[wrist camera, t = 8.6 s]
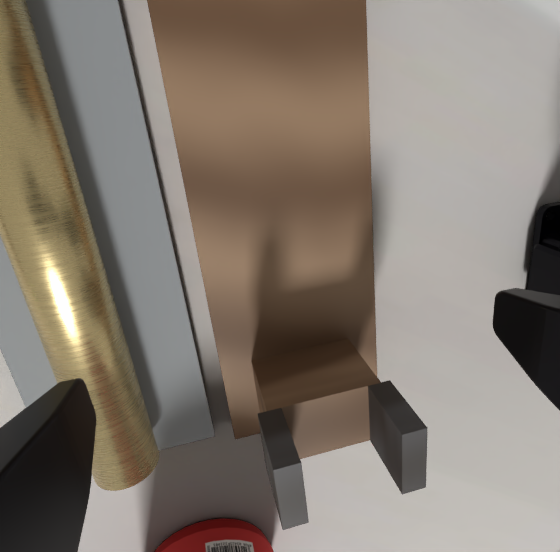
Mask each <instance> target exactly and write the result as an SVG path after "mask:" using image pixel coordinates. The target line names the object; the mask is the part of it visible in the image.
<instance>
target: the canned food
mask: <svg viewBox="0 0 560 552" xmlns="http://www.w3.org/2000/svg"><path fill="white" fill-rule="evenodd" d="M155 552H273V549H272V547H271V545H270V543H269V541H268V540H267V538H266V537H265V535H264V534H263V533H262V531H261V530H260V529H258V528H257V527H256V526H254V525H252V524H250V523H248V522H245V521H241V520H236V519H223V518H221V519H211V520H206V521H202V522H198V523H195V524H193V525H190V526H187V527H185V528H183V529H181V530H179V531H178V532H176V533H174V534H173V535H171V536H170V537H169V538H167V539H166V540H165V541H164V542H163V543H162V544H161V545H160V546H159V547H158V548H157V549H156V550H155Z"/></svg>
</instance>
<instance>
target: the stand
mask: <svg viewBox="0 0 560 552" xmlns="http://www.w3.org/2000/svg"><path fill="white" fill-rule="evenodd" d="M147 2H148V7H149V12H150V17H151V22H152V27H153V32H154V37H155V42H156V47H157V52H158V57H159V62H160V67H161V72H162V77H163V82H164V87H165V92H166V97H167V102H168V107H169V112H170V117H171V122H172V127H173V132H174V137H175V142H176V147H177V152H178V157H179V162H180V167H181V172H182V177H183V182H184V187H185V192H186V197H187V202H188V207H189V212H190V217H191V222H192V227H193V232H194V237H195V242H196V247H197V252H198V257H199V262H200V267H201V272H202V277H203V282H204V287H205V292H206V297H207V302H208V307H209V312H210V317H211V322H212V327H213V332H214V337H215V342H216V347H217V352H218V357H219V362H220V367H221V372H222V377H223V382H224V387H225V392H226V397H227V402H228V407H229V412H230V417H231V422H232V427H233V432H234V437H235V439H239V438H243V437H247V436H251V435H254V434H258V433H261V438H262V444H263V450H264V456H265V462H266V468H267V472H268V475H269V479H270V483H271V487H272V491H273V495H274V498H275V502H276V506H277V510H278V514H279V517H280V521H281V525H282V529H283V530H285V529H288V528H291V527H295V526H298V525H301V524H305V523H308V522H309V521H308V513H307V505H306V497H305V489H304V481H303V473H302V465H301V461H300V459H302V458H306V457H310V456H313V455H317V454H321V453H324V452H328V451H332V450H335V449H339V448H343V447H346V446H350V445H354V444H357V443H361V442H365V441H368V440H370V441H371V442H372V444H373V446H374V447H375V449H376V451H377V452H378V454H379V456H380V458H381V459H382V461H383V463H384V464H385V466H386V468H387V469H388V471H389V473H390V474H391V476H392V478H393V480H394V481H395V483H396V485H397V486H398V488H399V490H400V491H401V493H402V494H405V493H408V492H412V491H415V490H418V489H422V488H425V487H426V459H427V427H426V426H425V424H424V423H423V422H422V421H421V419H420V418H419V417H418V416H417V414H416V413H415V412H414V410H413V409H412V408H411V407H410V405H409V404H408V403H407V402H406V400H405V399H404V398H403V397H402V395H401V394H400V393H399V391H398V390H397V389H396V388H395V386H394V385H393V384H392V383H391V381H386V382H382V383H381V382H380V380H379V379H378V378H377V358H376V324H375V290H374V256H373V222H372V189H371V155H370V121H369V87H368V53H367V19H366V0H147Z"/></svg>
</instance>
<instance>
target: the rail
mask: <svg viewBox="0 0 560 552" xmlns="http://www.w3.org/2000/svg"><path fill="white" fill-rule="evenodd" d="M0 237H1V239H2V242H3V244H4V247H5V250H6V252H7V255H8V257H9V260H10V262H11V265H12V268H13V270H14V273H15V275H16V278H17V281H18V283H19V286H20V288H21V291H22V294H23V296H24V299H25V301H26V304H27V307H28V309H29V312H30V314H31V317H32V319H33V322H34V325H35V327H36V330H37V332H38V335H39V338H40V340H41V343H42V345H43V348H44V351H45V353H46V356H47V358H48V361H49V364H50V366H51V369H52V371H53V374H54V377H55V379H56V382H57V383H59V382H61V381H65V380H70V379H75V378H81V379H82V380H83V381H84V382H85V384H86V386H87V389H88V392H89V395H90V398H91V401H92V404H93V406H94V409H95V413H96V433H95V443H94V454H93V465H92V475H93V478H94V480H95V482H96V484H97V485H98V486H99V487H101V488H102V489H105V490H111V491H116V490H122V489H126V488H129V487H131V486H134V485H136V484H137V483H139V482H141V481H142V480H144V479H145V478H146V477H147V476H148V475H149V474H150V473H151V472H152V471H153V470H154V468H155V467H156V465H157V463H158V460H159V450H158V447H157V443H156V440H155V437H154V433H153V430H152V426H151V423H150V420H149V416H148V413H147V409H146V406H145V403H144V399H143V396H142V393H141V389H140V386H139V382H138V379H137V376H136V372H135V369H134V365H133V362H132V359H131V355H130V352H129V348H128V345H127V342H126V338H125V335H124V332H123V328H122V325H121V321H120V318H119V315H118V311H117V308H116V304H115V301H114V298H113V294H112V291H111V287H110V284H109V281H108V277H107V274H106V271H105V267H104V264H103V260H102V257H101V254H100V250H99V247H98V243H97V240H96V237H95V233H94V230H93V226H92V223H91V220H90V216H89V213H88V210H87V206H86V203H85V199H84V196H83V193H82V189H81V186H80V182H79V179H78V176H77V172H76V169H75V165H74V162H73V159H72V155H71V152H70V149H69V145H68V142H67V138H66V135H65V132H64V128H63V125H62V121H61V118H60V115H59V111H58V108H57V105H56V101H55V98H54V94H53V91H52V88H51V84H50V81H49V77H48V74H47V71H46V67H45V64H44V60H43V57H42V54H41V50H40V47H39V44H38V40H37V37H36V33H35V30H34V27H33V23H32V20H31V16H30V13H29V10H28V6H27V3H26V0H0Z"/></svg>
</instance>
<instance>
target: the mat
mask: <svg viewBox="0 0 560 552" xmlns="http://www.w3.org/2000/svg"><path fill="white" fill-rule="evenodd" d="M26 3H27V6H28V10H29V13H30V16H31V20H32V23H33V27H34V30H35V33H36V37H37V40H38V44H39V47H40V50H41V54H42V57H43V60H44V64H45V67H46V71H47V74H48V77H49V81H50V84H51V88H52V91H53V94H54V98H55V101H56V105H57V108H58V111H59V115H60V118H61V121H62V125H63V128H64V132H65V135H66V138H67V142H68V145H69V149H70V152H71V155H72V159H73V162H74V165H75V169H76V172H77V176H78V179H79V182H80V186H81V189H82V193H83V196H84V199H85V203H86V206H87V210H88V213H89V216H90V220H91V223H92V226H93V230H94V233H95V237H96V240H97V243H98V247H99V250H100V254H101V257H102V260H103V264H104V267H105V271H106V274H107V277H108V281H109V284H110V287H111V291H112V294H113V298H114V301H115V304H116V308H117V311H118V315H119V318H120V321H121V325H122V328H123V332H124V335H125V338H126V342H127V345H128V348H129V352H130V355H131V359H132V362H133V365H134V369H135V372H136V376H137V379H138V382H139V386H140V389H141V393H142V396H143V399H144V403H145V406H146V409H147V413H148V416H149V420H150V423H151V426H152V430H153V433H154V437H155V440H156V443H157V447H158V450H163V449H167V448H171V447H175V446H179V445H183V444H187V443H191V442H195V441H199V440H202V439H206V438H210V437H214V436H215V433H214V427H213V422H212V418H211V413H210V409H209V404H208V400H207V395H206V391H205V386H204V382H203V377H202V373H201V368H200V364H199V359H198V355H197V350H196V346H195V341H194V337H193V332H192V328H191V323H190V319H189V314H188V310H187V305H186V301H185V296H184V292H183V287H182V283H181V278H180V274H179V269H178V265H177V260H176V256H175V251H174V247H173V242H172V238H171V233H170V229H169V224H168V220H167V215H166V211H165V206H164V202H163V197H162V193H161V188H160V184H159V179H158V175H157V170H156V166H155V161H154V157H153V152H152V148H151V143H150V139H149V134H148V130H147V125H146V121H145V116H144V112H143V107H142V103H141V98H140V94H139V89H138V85H137V80H136V76H135V71H134V67H133V62H132V58H131V53H130V49H129V44H128V40H127V35H126V31H125V26H124V22H123V17H122V13H121V8H120V4H119V0H26ZM0 349H1V351H2V354H3V356H4V358H5V361H6V363H7V365H8V367H9V370H10V372H11V374H12V377H13V379H14V381H15V384H16V386H17V388H18V391H19V393H20V395H21V398H22V400H23V402H24V405H25V407H26V408H27V407H28V406H29V405H30V404H32V403H33V402H34V401H36V400H37V399H38V398H39V397H41V396H42V395H43V394H45V393H46V392H47V391H48V390H50V389H51V388H52V387H54V386H55V385H56V384H57V382H56V379H55V377H54V374H53V371H52V369H51V366H50V364H49V361H48V358H47V356H46V353H45V351H44V348H43V345H42V343H41V340H40V338H39V335H38V332H37V330H36V327H35V325H34V322H33V319H32V317H31V314H30V312H29V309H28V307H27V304H26V301H25V299H24V296H23V294H22V291H21V288H20V286H19V283H18V281H17V278H16V275H15V273H14V270H13V268H12V265H11V262H10V260H9V257H8V255H7V252H6V250H5V247H4V244H3V242H2V239H1V237H0Z"/></svg>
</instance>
